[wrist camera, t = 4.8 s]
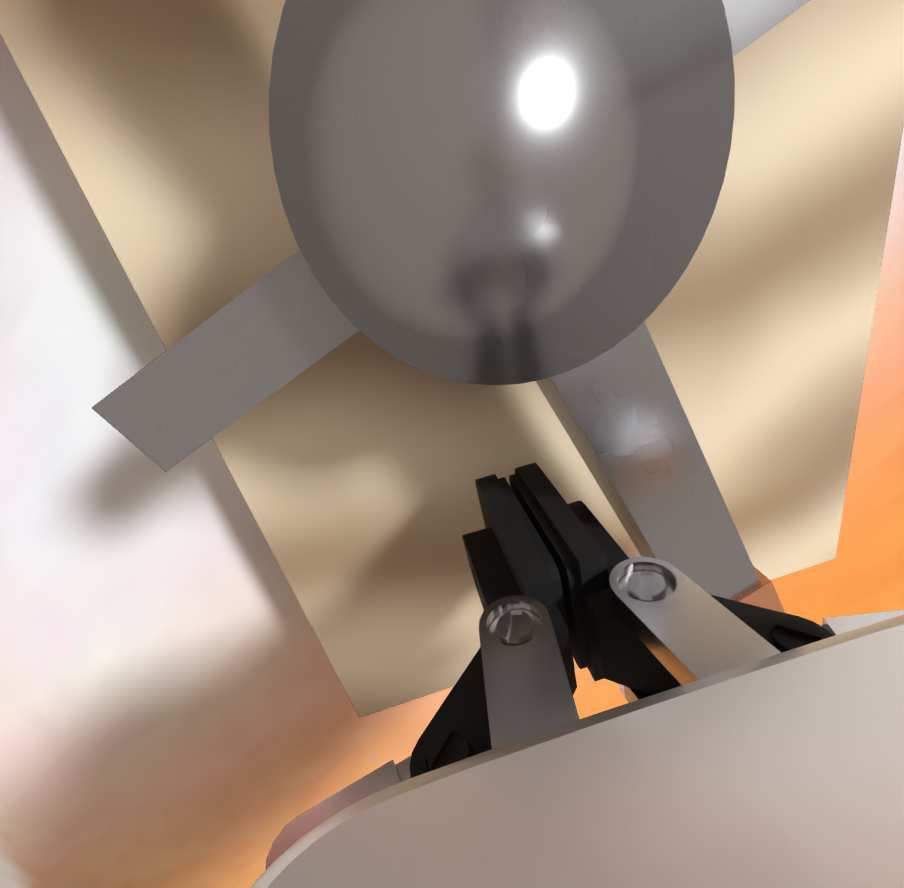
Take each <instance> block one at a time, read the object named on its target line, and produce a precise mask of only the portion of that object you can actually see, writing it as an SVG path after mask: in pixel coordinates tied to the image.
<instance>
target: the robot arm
mask: <svg viewBox="0 0 904 888" xmlns="http://www.w3.org/2000/svg"><path fill="white" fill-rule="evenodd" d="M509 481H510V485H509V484H508V482H507V480H506V478H505V477H502V478H499V479H498V478H497V476H496V475H495V474H493V475H489V476H486V477H483V478H479V479H476V480H475V484H476V489H477V493H478V497H479V502H480V506H481V510H482V515H483V519H484V523H485V529H481V530H478V531H474V532H471V533H468V534H464V535H462V538H463V542H464V546H465V550H466V554H467V558H468V561H469V565H470V569H471V572H472V575H473V579H474V582H475V585H476V588H477V591H478V594H479V597H480V600H481V603H482V606H483V609H484V611H483V613H482V615H481V617H480V620H479V637H480V646H481V647H480V648H479V650H478V651H477V653H476V654H475V656H474V657H473V659H472V660H471V662H470V663H469V665H468V666H467V668H466V669H465V671H464V672H463V674H462V675H461V677H460V678H459V680H458V681H457V683H456V684H455V686H454V687H453V689H452V690H451V692H450V693H449V695H448V696H447V698H446V699H445V701H444V702H443V704H442V705H441V707H440V708H439V710H438V711H437V713H436V714H435V716H434V717H433V719H432V720H431V722H430V723H429V725H428V726H427V728H426V729H425V731H424V732H423V734H422V735H421V737H420V738H419V740H418V742H417V744H416V746H415V748H414V750H413V752H412V756H410V757H408V758H407V759H405V760H403V761H401V762H400V763H398V764H396V765H395V764H394V761H393V760H392V761H390V762H388V763H386V764H385V765H383V766H381V767H380V768H378V769H376V770H375V771H373V772H371V773H370V774H368V775H366V776H365V777H363V778H361V779H359V780H358V781H356V782H354V783H353V784H351V785H349V786H348V787H346V788H344V789H343V790H341V791H339V792H338V793H336V794H334V795H332V796H331V797H329V798H327V799H326V800H324V801H322V802H321V803H319V804H317V805H316V806H314V807H312V808H311V809H309V810H307V811H305V812H304V813H302V814H300V815H299V816H297V817H296V818H295V819H293V820H292V821H291V822H290V823H289V824H287V825H286V826H285V827H284V828H283V829H282V831H281V832H280V834H279V835H278V836H277V838H276V839H275V841H274V842H273V844H272V847H271V849H270V852H269V854H268V857H267V860H266V870H265V871H264V872H263V873H262V874H261V875H260V877H259V878H258V879H257V880H256V881H255V882H254V883H253V885H252V886H251V887H250V888H904V610H898V611H889V612H879V613H870V614H860V615H851V616H841V617H832V618H823V623H822V625H818V624H816V623H815V622H813V621H810V620H807V619H804V618H801V617H798V616H795V615H791V614H787V613H783V612H778V611H774V610H770V609H766V608H762V607H758V606H754V605H750V604H746V603H742V602H738V601H734V600H730V599H726V598H722V597H718V596H714V595H710V594H708V593H707V592H706V591H704V590H703V589H702V588H701V587H700V586H698V585H697V584H696V583H695V582H693V581H692V580H691V579H690V578H688V577H687V576H686V575H685V574H683V573H682V572H681V571H680V570H678V569H677V568H676V567H675V566H673V565H671V564H670V563H668V562H666V561H663V560H660V559H657V558H652V557H633V558H629V557H628V556H627V555H626V554H625V552H624V551H623V550H622V549H621V548H620V546H619V545H618V544H617V543H616V541H615V540H614V539H613V538H612V537H611V535H610V534H609V533H608V532H607V531H606V529H605V528H604V527H603V526H602V524H601V523H600V522H599V521H598V520H597V518H596V517H595V516H594V515H593V513H592V512H591V511H590V510H589V509H588V507H587V506H586V505H585V504H584V503H583V502H582V501H575V502H572V503H569V504H567V503H566V501H565V500H564V499H563V497H562V496H561V495H560V493H559V492H558V491H557V489H556V488H555V487H554V485H553V484H552V483H551V482H550V480H549V479H548V478H547V476H546V475H545V474H544V472H543V471H542V470H541V468H540V467H539V466H538V464H537V463H531V464H528V465H524V466H521V467H517V468H515V474H513V475H509ZM573 657H574V659H575V661H576V663H577V665H578V667H579V668H580V669H582V668H585V667H588V669H589V671H590V673H591V675H592V677H593V679H594V681H597V680H600V679H603V678H605V679H608V680H611V681H613V682H616V683H618V684H619V685H620V690H621V692H622V693H623V695H624V697H625V699H626V700H627V701H628V702H629V703H628V704H625V705H622V706H619V707H616V708H613V709H610V710H607V711H604V712H601V713H598V714H595V715H592V716H589V717H586V718H583V719H580V720H579V716H578V713H577V709H576V706H575V702H574V699H573V694H574V692H575V690H576V688H577V684H576V678H575V671H574V670H575V669H574V662H573Z"/></svg>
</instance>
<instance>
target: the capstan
mask: <svg viewBox="0 0 904 888" xmlns="http://www.w3.org/2000/svg"><path fill="white" fill-rule="evenodd" d="M809 1H810V0H286V1H285V4H284V7H283V10H282V14H281V18H280V23H279V27H278V31H277V36H276V40H275V44H274V49H273V56H272V65H271V75H270V84H269V135H270V143H271V151H272V158H273V166H274V173H275V177H276V181H277V185H278V189H279V193H280V197H281V201H282V205H283V209H284V211H285V214H286V217H287V219H288V222H289V224H290V227H291V230H292V232H293V235H294V238H295V240H296V243H297V245H298V247H299V250H298V251H297V252H295V253H294V254H293V255H291V256H290V257H289V258H287V259H286V260H285V261H283V262H282V263H281V264H279V265H278V266H277V267H276V268H274V269H273V270H272V271H270V272H269V273H268V274H266V275H265V276H264V277H262V278H261V279H260V280H258V281H257V282H256V283H255V284H253V285H252V286H251V287H249V288H248V289H247V290H245V291H244V292H243V293H241V294H240V295H239V296H237V297H236V298H235V299H234V300H232V301H231V302H230V303H228V304H227V305H226V306H224V307H223V308H222V309H220V310H219V311H218V312H216V313H215V314H214V315H213V316H211V317H210V318H209V319H207V320H206V321H205V322H203V323H202V324H201V325H199V326H198V327H197V328H195V329H194V330H193V331H192V332H190V333H189V334H188V335H186V336H185V337H184V338H182V339H181V340H180V341H178V342H177V343H176V344H174V345H173V346H172V347H171V348H169V349H168V350H167V351H165V352H164V353H163V354H161V355H160V356H159V357H157V358H156V359H155V360H153V361H152V362H151V363H150V364H148V365H147V366H146V367H144V368H143V369H142V370H140V371H139V372H138V373H136V374H135V375H134V376H132V377H131V378H130V379H129V380H127V381H126V382H125V383H123V384H122V385H121V386H119V387H118V388H117V389H115V390H114V391H113V392H111V393H110V394H109V395H108V396H106V397H105V398H104V399H102V400H101V401H100V402H98V403H97V404H96V405H94V406H93V407H92V409H93V410H94V411H96V412H97V413H98V414H99V415H100V416H101V417H103V418H104V419H105V420H106V421H107V422H108V423H110V424H111V425H112V426H113V427H114V428H115V429H117V430H118V431H119V432H120V433H121V434H122V435H124V436H125V437H126V438H127V439H128V440H129V441H131V442H132V443H133V444H134V445H135V446H136V447H137V448H139V449H140V450H141V451H142V452H143V453H144V454H146V455H147V456H148V457H149V458H150V459H151V460H153V461H154V462H155V463H156V464H157V465H158V466H160V467H161V468H162V469H163V470H164V471H165V472H166V471H167V470H169V469H170V468H172V467H173V466H174V465H176V464H177V463H178V462H180V461H181V460H182V459H184V458H185V457H187V456H188V455H189V454H191V453H192V452H193V451H195V450H196V449H198V448H199V447H200V446H202V445H203V444H204V443H206V442H207V441H208V440H210V439H211V438H213V437H214V436H215V435H217V434H218V433H219V432H221V431H222V430H224V429H225V428H226V427H228V426H229V425H230V424H232V423H233V422H234V421H236V420H237V419H239V418H240V417H241V416H243V415H244V414H245V413H247V412H248V411H250V410H251V409H252V408H254V407H255V406H256V405H258V404H259V403H260V402H262V401H263V400H265V399H266V398H267V397H269V396H270V395H271V394H273V393H274V392H276V391H277V390H278V389H280V388H281V387H282V386H284V385H285V384H286V383H288V382H289V381H291V380H292V379H293V378H295V377H296V376H297V375H299V374H300V373H301V372H303V371H304V370H306V369H307V368H308V367H310V366H311V365H312V364H314V363H315V362H317V361H318V360H319V359H321V358H322V357H323V356H325V355H326V354H327V353H329V352H330V351H332V350H333V349H334V348H336V347H337V346H338V345H340V344H341V343H343V342H344V341H345V340H347V339H348V338H349V337H351V336H352V335H353V334H355V333H356V332H358V331H359V330H360V331H361V332H362V333H363V334H364V335H365V336H366V337H367V338H369V339H370V340H371V341H372V342H373V343H375V344H376V345H378V346H379V347H381V348H382V349H384V350H385V351H386V352H388V353H389V354H391V355H392V356H394V357H395V358H397V359H399V360H401V361H403V362H405V363H407V364H409V365H411V366H413V367H415V368H417V369H419V370H421V371H424V372H427V373H430V374H433V375H436V376H438V377H441V378H444V379H449V380H454V381H458V382H463V383H468V384H480V385H493V386H494V385H512V384H522V383H527V382H533V381H536V383H537V385H538V386H539V388H540V389H541V391H542V393H543V394H544V396H545V398H546V399H547V401H548V403H549V404H550V406H551V408H552V409H553V411H554V413H555V414H556V416H557V418H558V419H559V421H560V423H561V424H562V426H563V428H564V429H565V431H566V432H567V434H568V436H569V437H570V439H571V441H572V442H573V444H574V446H575V447H576V449H577V451H578V452H579V454H580V456H581V457H582V459H583V461H584V462H585V464H586V466H587V467H588V469H589V471H590V472H591V474H592V475H593V477H594V479H595V480H596V482H597V484H598V485H599V487H600V489H601V490H602V492H603V494H604V495H605V497H606V499H607V500H608V502H609V504H610V505H611V507H612V509H613V510H614V512H615V514H616V515H617V517H618V518H619V520H620V522H621V523H622V525H623V527H624V528H625V530H626V532H627V533H628V535H629V537H630V538H631V540H632V542H633V543H634V545H635V547H636V548H637V550H638V552H639V553H640V555H641V557H652V558H657V559H660V560H663V561H666V562H668V563H670V564H671V565H673V566H675V567H676V568H677V569H678V570H680V571H681V572H682V573H683V574H685V575H686V576H687V577H688V578H690V579H691V580H692V581H693V582H695V583H696V584H697V585H698V586H700V587H701V588H702V589H703V590H704V591H706V592H707V593H708V594H710V595H714V596H718V597H722V598H726V599H730V600H734V601H738V602H742V603H746V604H750V605H754V606H758V607H762V608H766V609H770V610H774V611H778V612H783V613H785V612H784V609H783V607H782V605H781V602H780V600H779V598H778V595H777V593H776V591H775V588H774V586H773V584H772V581H770V580H769V579H768V578H767V577H766V576H765V575H763V574H762V573H761V572H760V571H759V570H758V569H757V568H755V567H754V566H753V564H752V562H751V560H750V558H749V555H748V553H747V551H746V549H745V546H744V544H743V542H742V540H741V537H740V535H739V533H738V531H737V528H736V526H735V524H734V522H733V519H732V517H731V515H730V513H729V510H728V508H727V506H726V504H725V501H724V499H723V497H722V495H721V493H720V490H719V488H718V486H717V484H716V481H715V479H714V477H713V475H712V472H711V470H710V468H709V466H708V463H707V461H706V459H705V457H704V454H703V452H702V450H701V448H700V445H699V443H698V441H697V439H696V436H695V434H694V432H693V430H692V427H691V425H690V423H689V421H688V418H687V416H686V414H685V412H684V409H683V407H682V405H681V403H680V400H679V398H678V396H677V394H676V391H675V389H674V387H673V385H672V382H671V380H670V378H669V376H668V373H667V371H666V369H665V367H664V364H663V362H662V360H661V358H660V355H659V353H658V351H657V349H656V346H655V344H654V342H653V340H652V337H651V335H650V333H649V331H648V328H647V326H646V324H645V322H644V321H645V320H646V319H647V318H648V317H649V316H650V315H651V314H652V313H653V312H654V311H655V309H656V308H657V307H658V306H659V305H660V304H661V302H662V301H663V300H664V299H665V298H666V296H667V295H668V294H669V293H670V292H671V290H672V289H673V287H674V286H675V284H676V283H677V281H678V280H679V279H680V277H681V276H682V274H683V273H684V271H685V270H686V268H687V267H688V265H689V263H690V261H691V259H692V258H693V256H694V254H695V252H696V250H697V248H698V247H699V245H700V243H701V241H702V239H703V236H704V234H705V232H706V229H707V227H708V225H709V222H710V220H711V218H712V215H713V213H714V210H715V207H716V204H717V201H718V198H719V194H720V191H721V188H722V185H723V182H724V177H725V173H726V168H727V163H728V158H729V154H730V149H731V141H732V131H733V122H734V109H735V75H734V65H733V57H734V56H735V55H736V54H738V53H739V52H741V51H742V50H743V49H745V48H746V47H747V46H749V45H750V44H752V43H753V42H754V41H756V40H757V39H758V38H760V37H761V36H762V35H764V34H765V33H767V32H768V31H769V30H771V29H772V28H773V27H775V26H776V25H778V24H779V23H780V22H782V21H783V20H784V19H786V18H787V17H788V16H790V15H791V14H793V13H794V12H795V11H797V10H798V9H799V8H801V7H802V6H803V5H805V4H806V3H808V2H809Z"/></svg>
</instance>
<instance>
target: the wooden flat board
mask: <svg viewBox="0 0 904 888" xmlns="http://www.w3.org/2000/svg"><path fill="white" fill-rule="evenodd" d="M285 1H286V0H0V34H1V36H2V38H3V40H4V42H5V44H6V46H7V48H8V50H9V52H10V53H11V55H12V57H13V59H14V61H15V63H16V65H17V67H18V69H19V71H20V72H21V74H22V76H23V78H24V80H25V82H26V84H27V86H28V88H29V90H30V92H31V93H32V95H33V97H34V99H35V101H36V103H37V105H38V107H39V109H40V111H41V112H42V114H43V116H44V118H45V120H46V122H47V124H48V126H49V128H50V130H51V132H52V133H53V135H54V137H55V139H56V141H57V143H58V145H59V147H60V149H61V151H62V152H63V154H64V156H65V158H66V160H67V162H68V164H69V166H70V168H71V170H72V172H73V173H74V175H75V177H76V179H77V181H78V183H79V185H80V187H81V189H82V191H83V192H84V194H85V196H86V198H87V200H88V202H89V204H90V206H91V208H92V210H93V212H94V213H95V215H96V217H97V219H98V221H99V223H100V225H101V227H102V229H103V231H104V232H105V234H106V236H107V238H108V240H109V242H110V244H111V246H112V248H113V250H114V252H115V253H116V255H117V257H118V259H119V261H120V263H121V265H122V267H123V269H124V271H125V272H126V274H127V276H128V278H129V280H130V282H131V284H132V286H133V288H134V290H135V292H136V293H137V295H138V297H139V299H140V301H141V303H142V305H143V307H144V309H145V311H146V312H147V314H148V316H149V318H150V320H151V322H152V324H153V326H154V328H155V330H156V332H157V333H158V335H159V337H160V339H161V341H162V343H163V345H164V347H165V349H166V351H167V350H168V349H169V348H171V347H172V346H173V345H174V344H176V343H177V342H178V341H180V340H181V339H182V338H184V337H185V336H186V335H188V334H189V333H190V332H192V331H193V330H194V329H195V328H197V327H198V326H199V325H201V324H202V323H203V322H205V321H206V320H207V319H209V318H210V317H211V316H213V315H214V314H215V313H216V312H218V311H219V310H220V309H222V308H223V307H224V306H226V305H227V304H228V303H230V302H231V301H232V300H234V299H235V298H236V297H237V296H239V295H240V294H241V293H243V292H244V291H245V290H247V289H248V288H249V287H251V286H252V285H253V284H255V283H256V282H257V281H258V280H260V279H261V278H262V277H264V276H265V275H266V274H268V273H269V272H270V271H272V270H273V269H274V268H276V267H277V266H278V265H279V264H281V263H282V262H283V261H285V260H286V259H287V258H289V257H290V256H291V255H293V254H294V253H295V252H297V251H298V250H299V247H298V245H297V243H296V240H295V238H294V235H293V232H292V230H291V227H290V224H289V222H288V219H287V217H286V214H285V211H284V209H283V205H282V201H281V197H280V193H279V189H278V185H277V181H276V177H275V173H274V166H273V158H272V151H271V143H270V135H269V84H270V75H271V65H272V56H273V49H274V44H275V40H276V36H277V31H278V27H279V23H280V18H281V14H282V10H283V7H284V4H285ZM733 65H734V75H735V109H734V122H733V131H732V141H731V149H730V154H729V158H728V163H727V168H726V173H725V177H724V182H723V185H722V188H721V191H720V194H719V198H718V201H717V204H716V207H715V210H714V213H713V215H712V218H711V220H710V222H709V225H708V227H707V229H706V232H705V234H704V236H703V239H702V241H701V243H700V245H699V247H698V248H697V250H696V252H695V254H694V256H693V258H692V259H691V261H690V263H689V265H688V267H687V268H686V270H685V271H684V273H683V274H682V276H681V277H680V279H679V280H678V281H677V283H676V284H675V286H674V287H673V289H672V290H671V292H670V293H669V294H668V295H667V296H666V298H665V299H664V300H663V301H662V302H661V304H660V305H659V306H658V307H657V308H656V309H655V311H654V312H653V313H652V314H651V315H650V316H649V317H648V318H647V319H646V320H645V321H644V322H645V324H646V326H647V328H648V331H649V333H650V335H651V337H652V340H653V342H654V344H655V346H656V349H657V351H658V353H659V355H660V358H661V360H662V362H663V364H664V367H665V369H666V371H667V373H668V376H669V378H670V380H671V382H672V385H673V387H674V389H675V391H676V394H677V396H678V398H679V400H680V403H681V405H682V407H683V409H684V412H685V414H686V416H687V418H688V421H689V423H690V425H691V427H692V430H693V432H694V434H695V436H696V439H697V441H698V443H699V445H700V448H701V450H702V452H703V454H704V457H705V459H706V461H707V463H708V466H709V468H710V470H711V472H712V475H713V477H714V479H715V481H716V484H717V486H718V488H719V490H720V493H721V495H722V497H723V499H724V501H725V504H726V506H727V508H728V510H729V513H730V515H731V517H732V519H733V522H734V524H735V526H736V528H737V531H738V533H739V535H740V537H741V540H742V542H743V544H744V546H745V549H746V551H747V553H748V555H749V558H750V560H751V562H752V564H753V566H754V567H755V568H757V569H758V570H759V571H760V572H761V573H762V574H763V575H765V576H766V577H767V578H768V579H769V580H772V579H775V578H778V577H781V576H784V575H787V574H790V573H793V572H796V571H799V570H802V569H805V568H808V567H811V566H814V565H816V564H819V563H822V562H825V561H828V560H831V559H834V558H835V557H836V551H837V544H838V538H839V532H840V525H841V519H842V513H843V506H844V500H845V494H846V487H847V481H848V475H849V468H850V462H851V456H852V449H853V443H854V437H855V430H856V424H857V418H858V411H859V405H860V399H861V392H862V386H863V380H864V373H865V367H866V360H867V354H868V348H869V341H870V335H871V329H872V322H873V316H874V310H875V303H876V297H877V291H878V284H879V278H880V272H881V265H882V259H883V253H884V246H885V240H886V234H887V227H888V221H889V215H890V208H891V202H892V196H893V189H894V183H895V177H896V170H897V164H898V158H899V151H900V145H901V139H902V132H903V126H904V0H810V1H809V2H808V3H806V4H805V5H803V6H802V7H801V8H799V9H798V10H797V11H795V12H794V13H793V14H791V15H790V16H788V17H787V18H786V19H784V20H783V21H782V22H780V23H779V24H778V25H776V26H775V27H773V28H772V29H771V30H769V31H768V32H767V33H765V34H764V35H762V36H761V37H760V38H758V39H757V40H756V41H754V42H753V43H752V44H750V45H749V46H747V47H746V48H745V49H743V50H742V51H741V52H739V53H738V54H736V55H735V56H734V57H733ZM213 440H214V442H215V444H216V446H217V448H218V450H219V452H220V453H221V455H222V457H223V459H224V461H225V463H226V465H227V467H228V469H229V471H230V472H231V474H232V476H233V478H234V480H235V482H236V484H237V486H238V488H239V490H240V492H241V493H242V495H243V497H244V499H245V501H246V503H247V505H248V507H249V509H250V511H251V512H252V514H253V516H254V518H255V520H256V522H257V524H258V526H259V528H260V530H261V532H262V533H263V535H264V537H265V539H266V541H267V543H268V545H269V547H270V549H271V551H272V552H273V554H274V556H275V558H276V560H277V562H278V564H279V566H280V568H281V570H282V572H283V573H284V575H285V577H286V579H287V581H288V583H289V585H290V587H291V589H292V591H293V592H294V594H295V596H296V598H297V600H298V602H299V604H300V606H301V608H302V610H303V612H304V613H305V615H306V617H307V619H308V621H309V623H310V625H311V627H312V629H313V631H314V632H315V634H316V636H317V638H318V640H319V642H320V644H321V646H322V648H323V650H324V651H325V653H326V655H327V657H328V659H329V661H330V663H331V665H332V667H333V669H334V671H335V672H336V674H337V676H338V678H339V680H340V682H341V684H342V686H343V688H344V690H345V691H346V693H347V695H348V697H349V699H350V701H351V703H352V705H353V707H354V709H355V711H356V712H357V714H358V716H359V718H360V717H363V716H366V715H369V714H372V713H375V712H378V711H381V710H384V709H387V708H390V707H393V706H396V705H399V704H402V703H405V702H408V701H411V700H414V699H417V698H420V697H423V696H426V695H429V694H432V693H435V692H438V691H441V690H444V689H447V688H450V687H453V686H455V684H456V683H457V681H458V680H459V678H460V677H461V675H462V674H463V672H464V671H465V669H466V668H467V666H468V665H469V663H470V662H471V660H472V659H473V657H474V656H475V654H476V653H477V651H478V650H479V648H480V647H481V646H480V637H479V620H480V617H481V615H482V613H483V611H484V609H483V606H482V603H481V600H480V597H479V594H478V591H477V588H476V585H475V582H474V579H473V575H472V572H471V569H470V565H469V561H468V558H467V554H466V550H465V546H464V542H463V538H462V535H464V534H468V533H471V532H474V531H478V530H481V529H485V523H484V519H483V515H482V510H481V506H480V502H479V497H478V493H477V489H476V484H475V480H476V479H479V478H483V477H486V476H489V475H493V474H495V475H496V476H497V478H498V479H499V478H502V477H505V478H506V480H507V482H508V484H509V485H510V481H509V475H513V474H515V468H517V467H521V466H524V465H528V464H531V463H537V464H538V466H539V467H540V468H541V470H542V471H543V472H544V474H545V475H546V476H547V478H548V479H549V480H550V482H551V483H552V484H553V485H554V487H555V488H556V489H557V491H558V492H559V493H560V495H561V496H562V497H563V499H564V500H565V501H566V503H567V504H569V503H572V502H575V501H582V502H583V503H584V504H585V505H586V506H587V507H588V509H589V510H590V511H591V512H592V513H593V515H594V516H595V517H596V518H597V520H598V521H599V522H600V523H601V524H602V526H603V527H604V528H605V529H606V531H607V532H608V533H609V534H610V535H611V537H612V538H613V539H614V540H615V541H616V543H617V544H618V545H619V546H620V548H621V549H622V550H623V551H624V552H625V554H626V555H627V556H628V557H629V558H633V557H641V555H640V553H639V552H638V550H637V548H636V547H635V545H634V543H633V542H632V540H631V538H630V537H629V535H628V533H627V532H626V530H625V528H624V527H623V525H622V523H621V522H620V520H619V518H618V517H617V515H616V514H615V512H614V510H613V509H612V507H611V505H610V504H609V502H608V500H607V499H606V497H605V495H604V494H603V492H602V490H601V489H600V487H599V485H598V484H597V482H596V480H595V479H594V477H593V475H592V474H591V472H590V471H589V469H588V467H587V466H586V464H585V462H584V461H583V459H582V457H581V456H580V454H579V452H578V451H577V449H576V447H575V446H574V444H573V442H572V441H571V439H570V437H569V436H568V434H567V432H566V431H565V429H564V428H563V426H562V424H561V423H560V421H559V419H558V418H557V416H556V414H555V413H554V411H553V409H552V408H551V406H550V404H549V403H548V401H547V399H546V398H545V396H544V394H543V393H542V391H541V389H540V388H539V386H538V385H537V383H536V381H533V382H527V383H522V384H512V385H494V386H493V385H480V384H468V383H463V382H458V381H454V380H449V379H444V378H441V377H438V376H436V375H433V374H430V373H427V372H424V371H421V370H419V369H417V368H415V367H413V366H411V365H409V364H407V363H405V362H403V361H401V360H399V359H397V358H395V357H394V356H392V355H391V354H389V353H388V352H386V351H385V350H384V349H382V348H381V347H379V346H378V345H376V344H375V343H373V342H372V341H371V340H370V339H369V338H367V337H366V336H365V335H364V334H363V333H362V332H361V331H360V330H359V331H358V332H356V333H355V334H353V335H352V336H351V337H349V338H348V339H347V340H345V341H344V342H343V343H341V344H340V345H338V346H337V347H336V348H334V349H333V350H332V351H330V352H329V353H327V354H326V355H325V356H323V357H322V358H321V359H319V360H318V361H317V362H315V363H314V364H312V365H311V366H310V367H308V368H307V369H306V370H304V371H303V372H301V373H300V374H299V375H297V376H296V377H295V378H293V379H292V380H291V381H289V382H288V383H286V384H285V385H284V386H282V387H281V388H280V389H278V390H277V391H276V392H274V393H273V394H271V395H270V396H269V397H267V398H266V399H265V400H263V401H262V402H260V403H259V404H258V405H256V406H255V407H254V408H252V409H251V410H250V411H248V412H247V413H245V414H244V415H243V416H241V417H240V418H239V419H237V420H236V421H234V422H233V423H232V424H230V425H229V426H228V427H226V428H225V429H224V430H222V431H221V432H219V433H218V434H217V435H215V436H214V437H213Z"/></svg>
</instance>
